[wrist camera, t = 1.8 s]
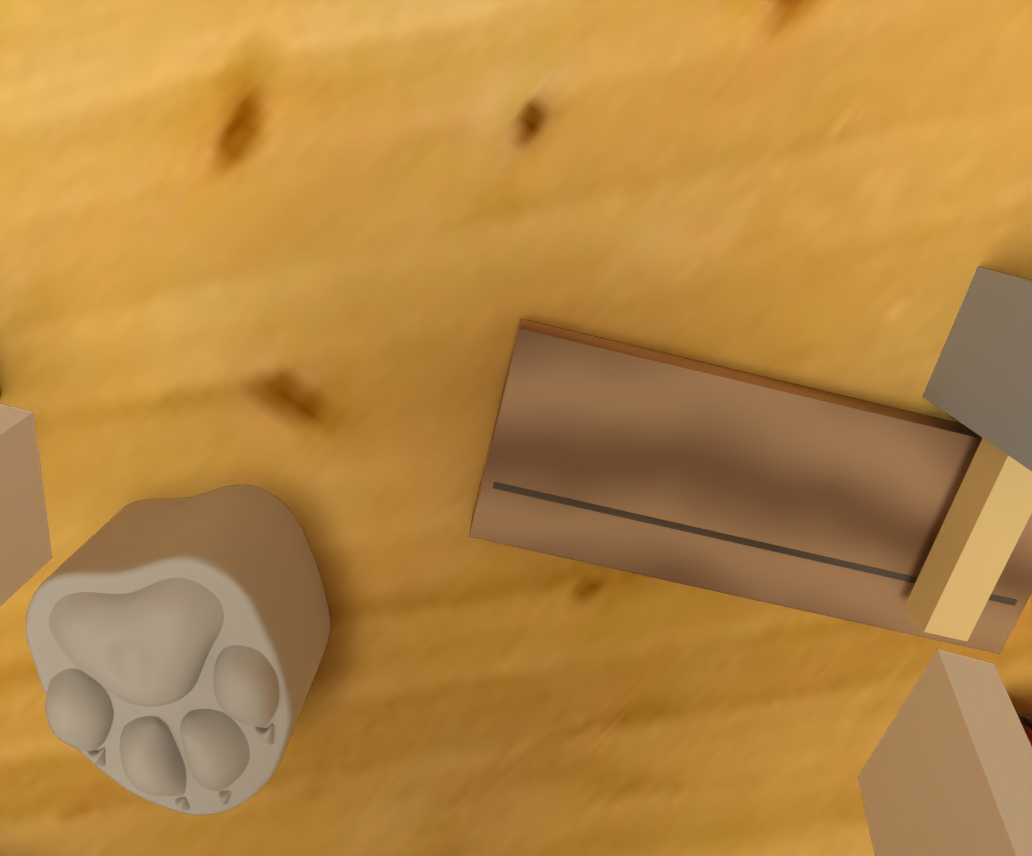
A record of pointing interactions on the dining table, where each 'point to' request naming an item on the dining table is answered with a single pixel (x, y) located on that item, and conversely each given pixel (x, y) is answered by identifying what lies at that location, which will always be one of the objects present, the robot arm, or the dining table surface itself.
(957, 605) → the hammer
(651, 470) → the board
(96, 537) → the paw mold
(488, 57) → the dining table surface
